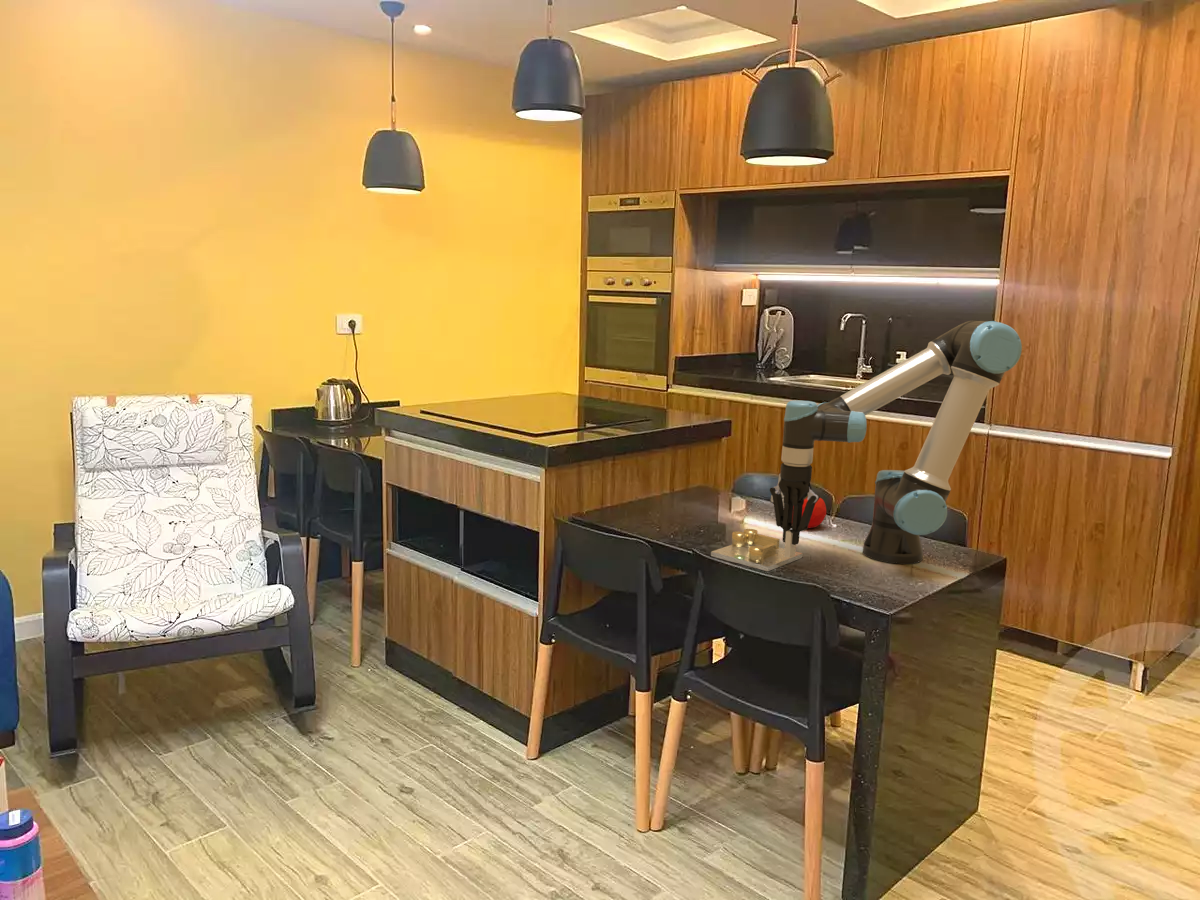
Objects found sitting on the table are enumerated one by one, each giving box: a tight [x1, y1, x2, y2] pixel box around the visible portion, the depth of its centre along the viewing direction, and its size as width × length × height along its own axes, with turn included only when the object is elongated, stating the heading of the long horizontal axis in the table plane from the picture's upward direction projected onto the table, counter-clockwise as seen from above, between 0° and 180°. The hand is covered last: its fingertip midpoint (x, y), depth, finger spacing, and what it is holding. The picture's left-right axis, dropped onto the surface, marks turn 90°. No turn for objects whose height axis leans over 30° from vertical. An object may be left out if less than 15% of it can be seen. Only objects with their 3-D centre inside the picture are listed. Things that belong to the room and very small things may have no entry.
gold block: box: [743, 528, 780, 549], centre depth 237 cm, size 10×4×3 cm, turn 48°
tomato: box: [792, 495, 827, 529], centre depth 263 cm, size 12×12×10 cm
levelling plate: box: [710, 530, 804, 572], centre depth 231 cm, size 17×17×4 cm
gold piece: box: [749, 543, 776, 563], centre depth 225 cm, size 10×4×3 cm, turn 138°
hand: (789, 555), depth 223 cm, fingers closed
